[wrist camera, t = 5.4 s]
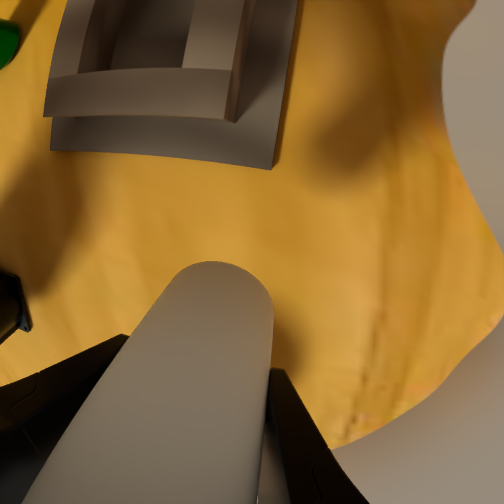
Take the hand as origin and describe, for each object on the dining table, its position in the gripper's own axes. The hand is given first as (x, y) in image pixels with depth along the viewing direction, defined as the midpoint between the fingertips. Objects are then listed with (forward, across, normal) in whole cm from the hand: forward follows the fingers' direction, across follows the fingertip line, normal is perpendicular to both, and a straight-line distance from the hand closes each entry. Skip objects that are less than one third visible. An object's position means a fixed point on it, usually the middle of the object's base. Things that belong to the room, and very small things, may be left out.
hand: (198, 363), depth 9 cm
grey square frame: (+11, +7, -13) cm, 19 cm away
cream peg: (+3, 0, 0) cm, 3 cm away
